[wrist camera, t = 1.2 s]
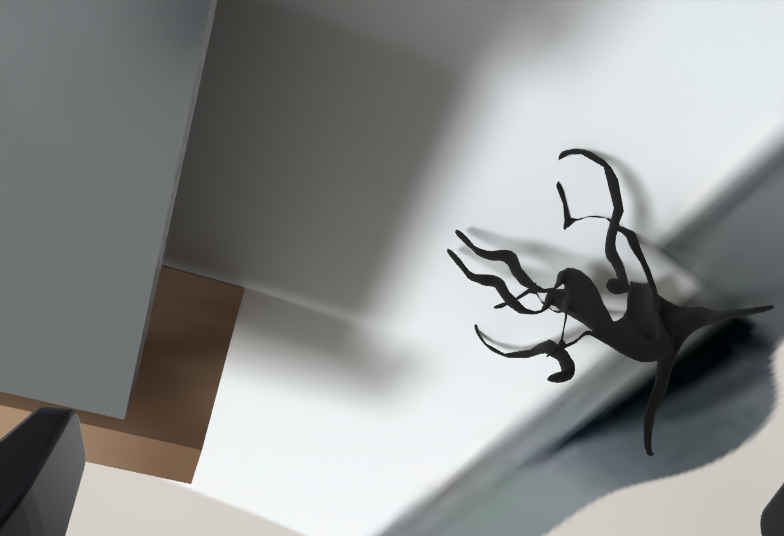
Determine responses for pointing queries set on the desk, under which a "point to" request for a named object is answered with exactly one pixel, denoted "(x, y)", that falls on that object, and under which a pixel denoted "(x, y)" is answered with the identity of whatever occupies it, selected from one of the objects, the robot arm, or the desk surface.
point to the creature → (583, 302)
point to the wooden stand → (161, 383)
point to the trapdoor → (89, 186)
